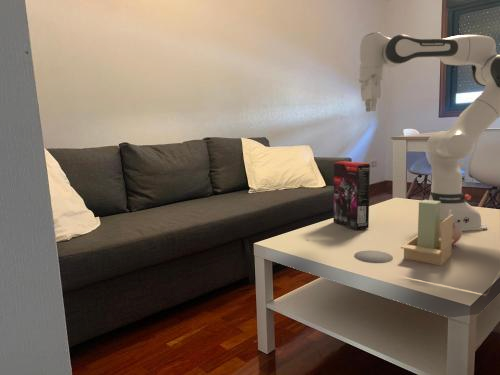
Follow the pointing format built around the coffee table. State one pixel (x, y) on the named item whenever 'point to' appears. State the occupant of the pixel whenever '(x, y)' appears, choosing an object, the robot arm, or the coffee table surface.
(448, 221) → the wooden open tray
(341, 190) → the graphics card box
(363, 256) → the slate mat
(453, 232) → the decorative fruit
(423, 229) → the tall box
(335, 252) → the coffee table surface
